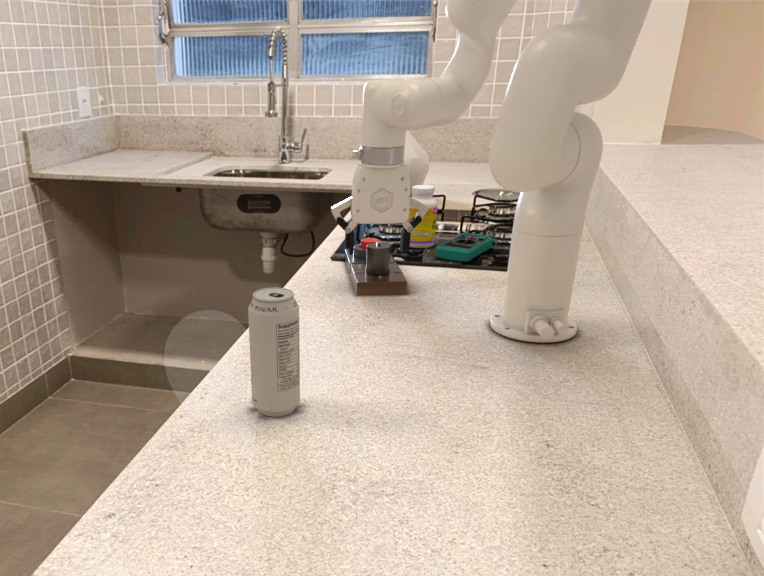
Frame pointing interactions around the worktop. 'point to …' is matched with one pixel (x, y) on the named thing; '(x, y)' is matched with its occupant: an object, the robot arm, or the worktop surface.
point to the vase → (415, 161)
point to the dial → (378, 258)
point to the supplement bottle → (427, 228)
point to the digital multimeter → (464, 247)
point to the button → (367, 242)
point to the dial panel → (378, 281)
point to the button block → (358, 256)
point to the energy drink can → (274, 351)
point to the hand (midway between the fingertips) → (376, 252)
